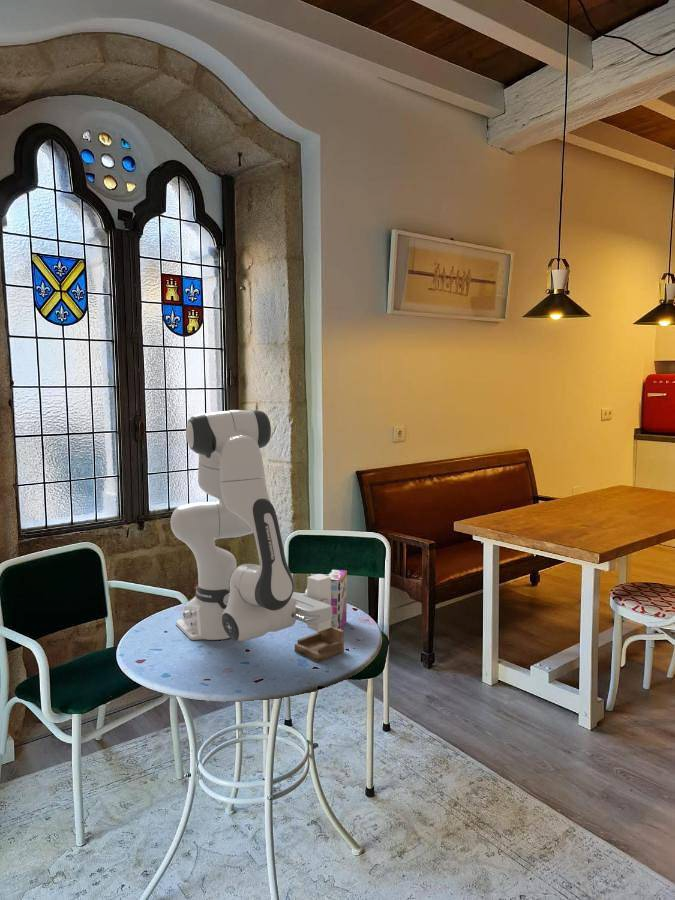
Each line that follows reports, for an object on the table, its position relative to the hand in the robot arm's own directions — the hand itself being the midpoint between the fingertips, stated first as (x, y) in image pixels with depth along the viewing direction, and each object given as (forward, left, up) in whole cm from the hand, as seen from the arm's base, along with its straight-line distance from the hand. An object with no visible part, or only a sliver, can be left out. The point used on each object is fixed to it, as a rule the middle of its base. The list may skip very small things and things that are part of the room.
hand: (321, 599), depth 172 cm
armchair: (0, -1, -15) cm, 15 cm away
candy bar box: (-10, +14, -15) cm, 23 cm away
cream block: (0, -1, -8) cm, 8 cm away
